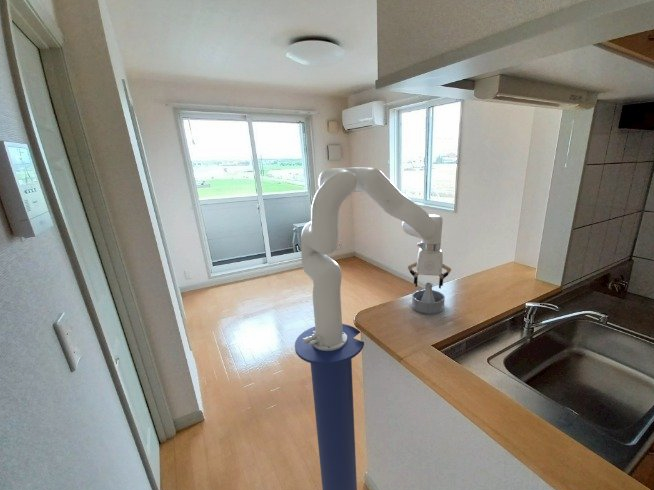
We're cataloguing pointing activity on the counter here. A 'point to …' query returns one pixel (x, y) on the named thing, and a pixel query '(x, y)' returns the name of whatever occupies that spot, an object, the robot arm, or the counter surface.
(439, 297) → the bowl
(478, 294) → the counter surface
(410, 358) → the counter surface
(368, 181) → the robot arm
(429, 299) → the flask
